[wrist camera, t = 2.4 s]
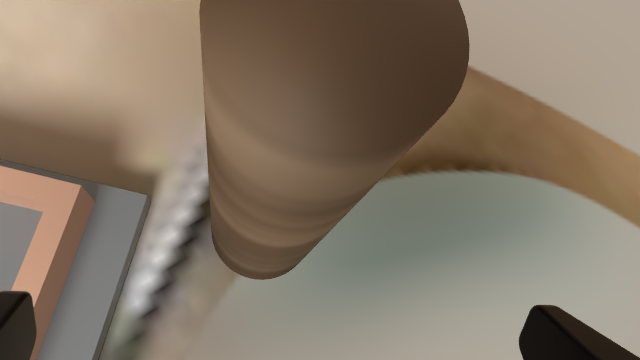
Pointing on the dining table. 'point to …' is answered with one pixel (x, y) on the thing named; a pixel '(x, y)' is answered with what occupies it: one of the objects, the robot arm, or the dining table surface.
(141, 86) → the dining table surface
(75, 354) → the board
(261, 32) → the walnut pin
